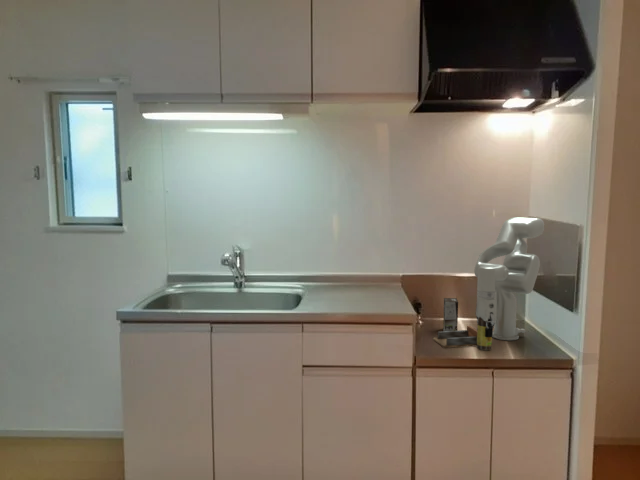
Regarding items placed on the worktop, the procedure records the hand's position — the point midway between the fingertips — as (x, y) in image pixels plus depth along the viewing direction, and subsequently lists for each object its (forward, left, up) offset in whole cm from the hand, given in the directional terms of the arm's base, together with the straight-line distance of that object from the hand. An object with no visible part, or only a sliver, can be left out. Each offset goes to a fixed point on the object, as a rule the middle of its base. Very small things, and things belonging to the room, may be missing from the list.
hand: (484, 334), depth 209 cm
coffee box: (+4, -26, -7) cm, 27 cm away
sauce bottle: (0, 0, -7) cm, 7 cm away
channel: (+8, -10, -7) cm, 14 cm away
